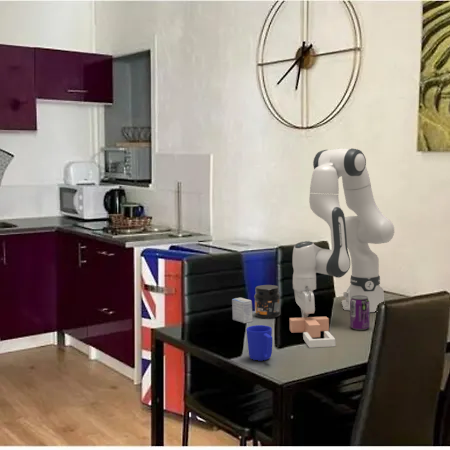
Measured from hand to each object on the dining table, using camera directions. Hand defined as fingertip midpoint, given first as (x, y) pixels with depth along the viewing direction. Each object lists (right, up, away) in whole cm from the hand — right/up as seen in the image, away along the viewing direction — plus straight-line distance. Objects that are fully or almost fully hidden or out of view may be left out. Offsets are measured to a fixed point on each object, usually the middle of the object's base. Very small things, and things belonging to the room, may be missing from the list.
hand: (305, 319), depth 251 cm
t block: (+1, -3, -11) cm, 11 cm away
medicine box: (-24, -2, +10) cm, 26 cm away
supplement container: (-13, -1, +17) cm, 22 cm away
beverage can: (+20, -3, -6) cm, 21 cm away
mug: (-19, -7, -41) cm, 46 cm away
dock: (+2, -4, -23) cm, 23 cm away
